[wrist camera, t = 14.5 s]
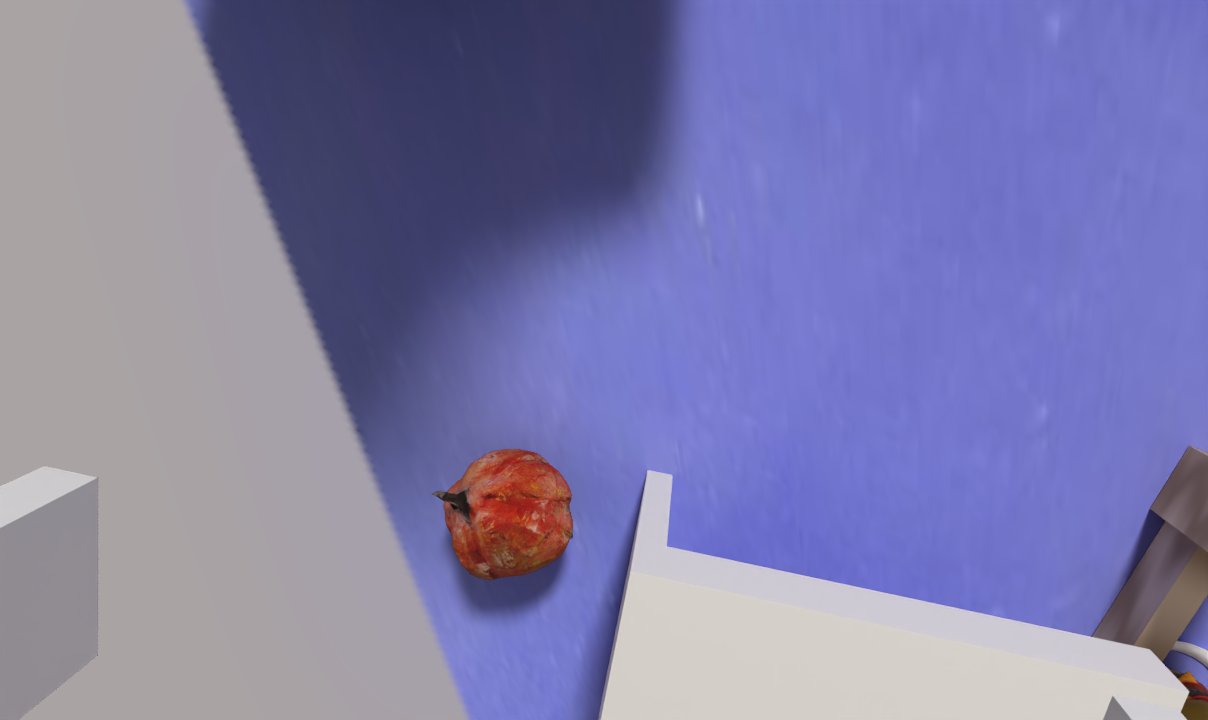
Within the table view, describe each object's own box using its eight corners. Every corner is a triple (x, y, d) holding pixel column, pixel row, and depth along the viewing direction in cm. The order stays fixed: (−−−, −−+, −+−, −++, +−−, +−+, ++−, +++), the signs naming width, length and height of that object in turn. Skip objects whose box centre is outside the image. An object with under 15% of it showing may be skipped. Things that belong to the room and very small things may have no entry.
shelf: (647, 470, 46) (630, 570, 35) (1062, 555, 45) (1189, 691, 33) (601, 698, 50) (573, 856, 39) (980, 784, 49) (1067, 976, 37)
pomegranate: (603, 460, 49) (489, 396, 42) (631, 564, 44) (508, 510, 37) (517, 518, 51) (397, 466, 45) (535, 622, 47) (404, 581, 40)
